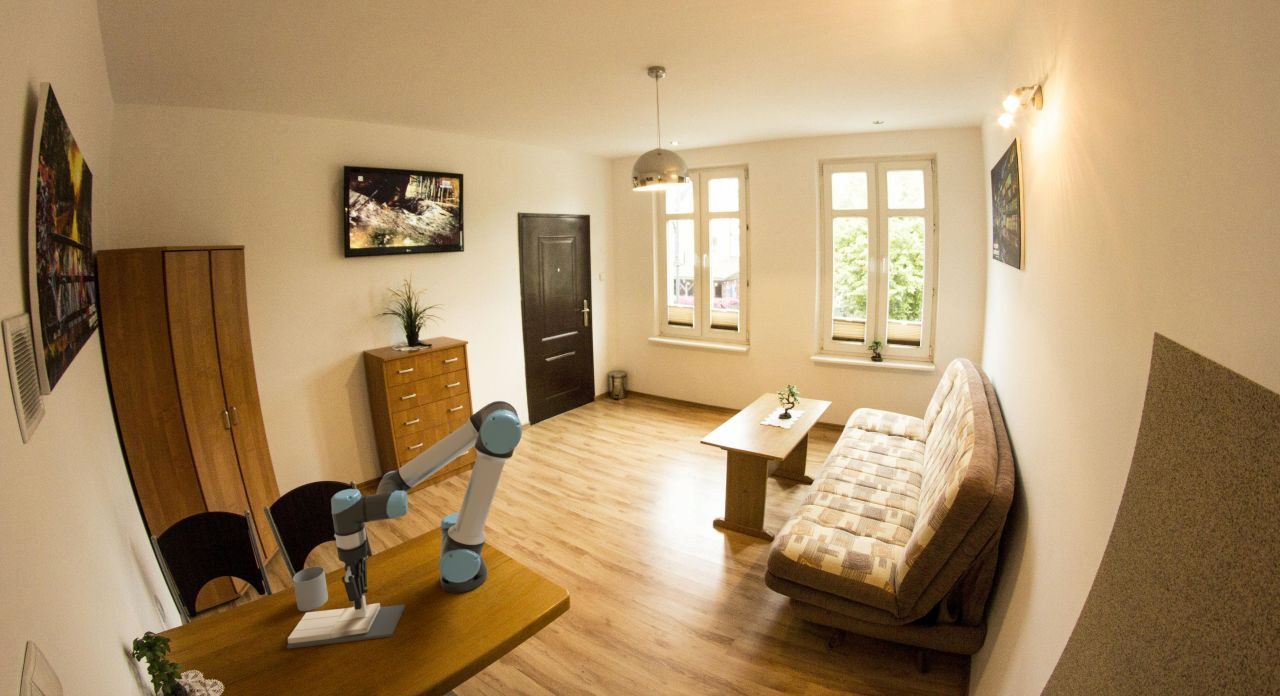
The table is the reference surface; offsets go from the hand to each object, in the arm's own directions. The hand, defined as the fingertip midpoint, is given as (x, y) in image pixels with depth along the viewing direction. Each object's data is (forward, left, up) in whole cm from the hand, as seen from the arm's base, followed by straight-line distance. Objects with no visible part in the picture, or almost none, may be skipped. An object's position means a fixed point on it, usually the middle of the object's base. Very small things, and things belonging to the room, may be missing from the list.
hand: (361, 615), depth 155 cm
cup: (+20, -14, -3) cm, 25 cm away
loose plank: (+2, 0, -2) cm, 3 cm away
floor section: (+4, 0, -3) cm, 5 cm away
